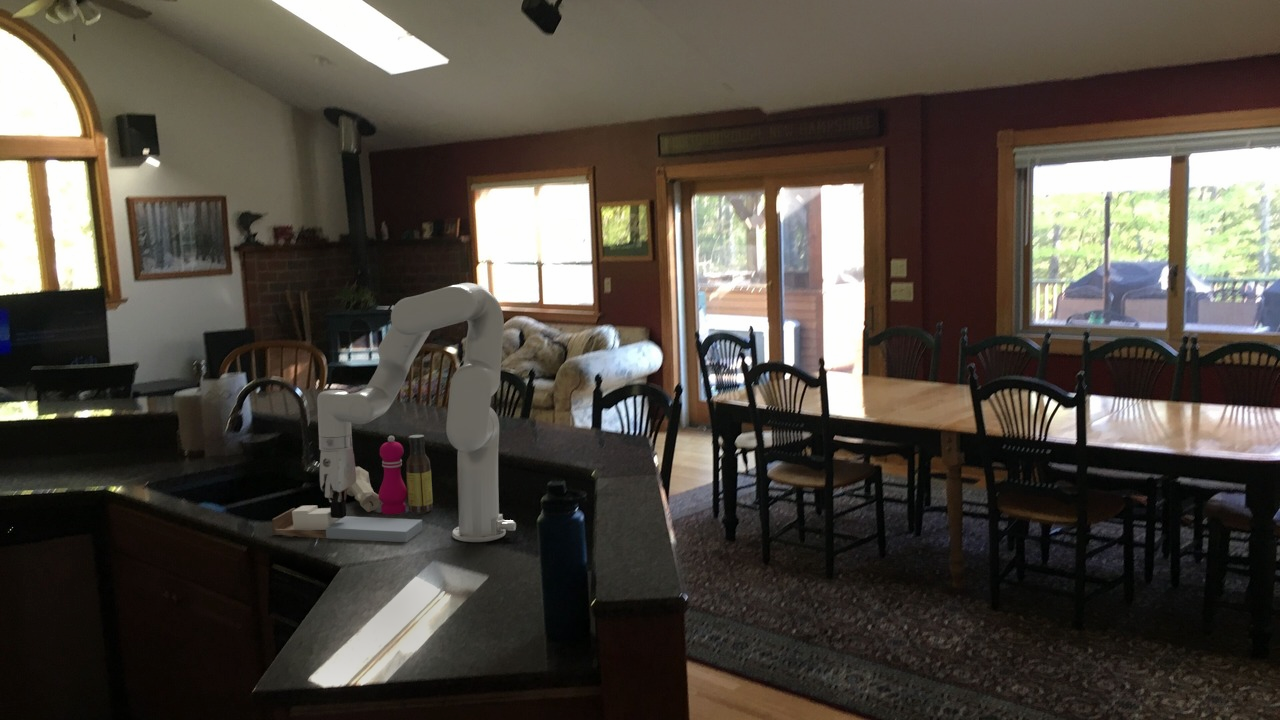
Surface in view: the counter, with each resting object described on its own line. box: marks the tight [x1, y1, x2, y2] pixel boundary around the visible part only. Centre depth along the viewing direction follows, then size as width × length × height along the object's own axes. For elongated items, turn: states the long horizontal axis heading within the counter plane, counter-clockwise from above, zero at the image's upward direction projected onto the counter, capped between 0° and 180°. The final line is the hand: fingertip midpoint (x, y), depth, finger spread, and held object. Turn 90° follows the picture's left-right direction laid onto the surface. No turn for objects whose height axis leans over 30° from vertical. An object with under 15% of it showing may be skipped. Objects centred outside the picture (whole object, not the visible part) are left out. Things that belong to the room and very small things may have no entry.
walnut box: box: [271, 507, 327, 539], centre depth 238 cm, size 14×10×4 cm
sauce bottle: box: [405, 434, 434, 514], centre depth 254 cm, size 6×6×20 cm
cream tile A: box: [308, 507, 339, 530], centre depth 237 cm, size 5×5×4 cm
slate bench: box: [325, 515, 424, 543], centre depth 235 cm, size 20×10×2 cm, turn 81°
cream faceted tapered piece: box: [347, 466, 382, 513], centre depth 263 cm, size 9×8×25 cm
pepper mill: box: [378, 435, 408, 516], centre depth 254 cm, size 7×7×20 cm
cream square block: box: [292, 504, 319, 530], centre depth 238 cm, size 5×5×4 cm
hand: (338, 516), depth 236 cm, fingers closed
